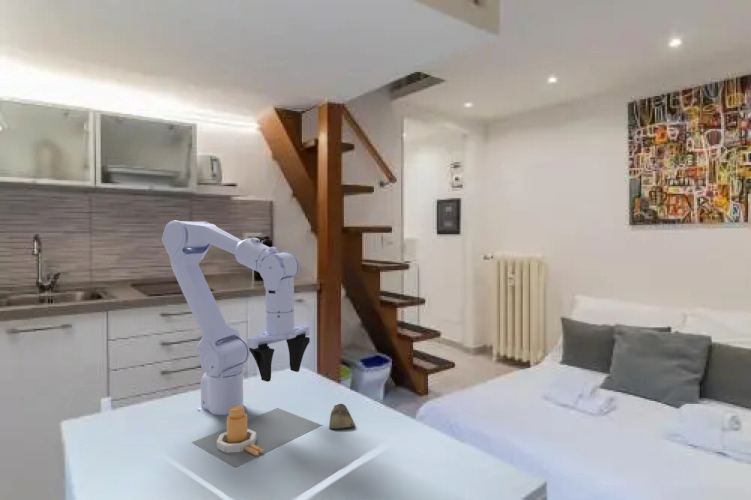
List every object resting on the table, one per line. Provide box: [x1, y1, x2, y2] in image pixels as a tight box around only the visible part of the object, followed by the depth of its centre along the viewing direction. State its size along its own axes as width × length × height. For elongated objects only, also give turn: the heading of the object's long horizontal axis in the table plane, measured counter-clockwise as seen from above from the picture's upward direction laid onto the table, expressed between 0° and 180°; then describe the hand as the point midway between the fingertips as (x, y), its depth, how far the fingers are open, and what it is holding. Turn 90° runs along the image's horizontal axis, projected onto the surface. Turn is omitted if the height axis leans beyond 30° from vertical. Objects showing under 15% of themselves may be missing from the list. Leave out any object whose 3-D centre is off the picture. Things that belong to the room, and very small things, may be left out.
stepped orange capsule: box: [226, 405, 248, 444], centre depth 79 cm, size 4×4×6 cm
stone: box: [329, 403, 355, 430], centre depth 91 cm, size 13×5×2 cm, turn 11°
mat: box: [191, 407, 323, 468], centre depth 84 cm, size 14×20×2 cm
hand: (280, 375), depth 90 cm, fingers open, 7 cm apart
